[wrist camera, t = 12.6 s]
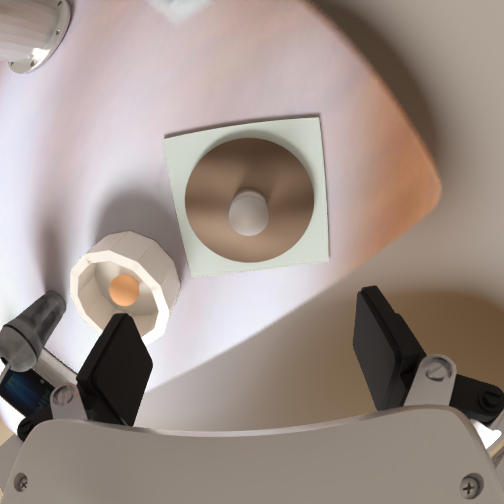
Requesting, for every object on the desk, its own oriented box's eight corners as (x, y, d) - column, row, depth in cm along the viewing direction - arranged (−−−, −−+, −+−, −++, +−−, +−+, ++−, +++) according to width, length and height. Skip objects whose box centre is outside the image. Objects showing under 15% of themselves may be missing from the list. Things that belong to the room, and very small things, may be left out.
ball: (112, 270, 34) (99, 285, 30) (138, 267, 33) (126, 283, 30) (122, 296, 35) (111, 312, 32) (147, 294, 35) (137, 311, 31)
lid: (176, 149, 28) (159, 154, 23) (306, 131, 27) (319, 131, 22) (199, 265, 34) (190, 291, 28) (315, 251, 33) (327, 275, 28)
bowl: (79, 240, 33) (55, 258, 27) (164, 224, 32) (148, 244, 27) (110, 319, 38) (94, 344, 33) (189, 315, 38) (181, 344, 32)
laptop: (89, 380, 46) (66, 428, 34) (75, 398, 50) (56, 439, 38) (23, 327, 41) (-10, 367, 29) (17, 352, 45) (-8, 388, 33)
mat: (163, 139, 28) (162, 139, 28) (317, 117, 27) (318, 117, 27) (192, 275, 35) (191, 277, 35) (327, 259, 34) (328, 261, 34)
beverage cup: (36, 279, 36) (-36, 354, 17) (68, 287, 36) (-5, 375, 18) (45, 314, 39) (-14, 391, 20) (76, 324, 39) (19, 412, 21)
